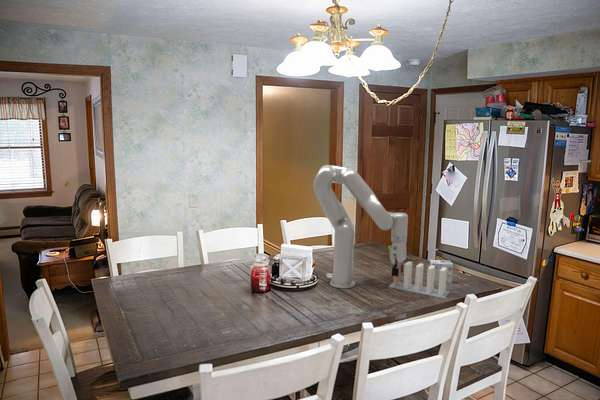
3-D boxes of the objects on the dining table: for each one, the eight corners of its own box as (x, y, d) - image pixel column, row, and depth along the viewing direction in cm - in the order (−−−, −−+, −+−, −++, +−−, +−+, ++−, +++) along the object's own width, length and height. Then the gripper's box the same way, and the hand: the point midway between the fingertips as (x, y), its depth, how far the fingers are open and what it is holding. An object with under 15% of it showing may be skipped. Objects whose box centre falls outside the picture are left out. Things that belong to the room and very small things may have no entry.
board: (387, 288, 219) (387, 286, 219) (394, 282, 227) (394, 281, 227) (444, 300, 205) (444, 298, 205) (449, 293, 214) (449, 291, 214)
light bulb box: (449, 280, 233) (450, 260, 232) (452, 284, 227) (453, 264, 225) (428, 279, 234) (429, 259, 233) (430, 283, 228) (432, 262, 226)
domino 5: (437, 295, 208) (439, 270, 207) (441, 291, 214) (442, 267, 212) (442, 296, 207) (444, 271, 206) (445, 292, 213) (447, 267, 211)
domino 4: (426, 292, 211) (427, 268, 209) (429, 289, 216) (431, 265, 214) (430, 293, 210) (432, 268, 208) (433, 289, 215) (435, 265, 213)
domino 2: (403, 288, 217) (404, 264, 215) (407, 284, 222) (408, 261, 220) (407, 289, 216) (408, 264, 214) (411, 285, 221) (412, 261, 219)
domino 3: (414, 290, 214) (416, 266, 212) (418, 286, 219) (419, 263, 217) (418, 291, 213) (420, 266, 211) (422, 287, 218) (423, 263, 216)
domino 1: (392, 283, 219) (394, 259, 217) (396, 279, 224) (398, 256, 222) (396, 283, 218) (398, 259, 216) (400, 280, 223) (402, 257, 221)
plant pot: (406, 261, 266) (406, 246, 265) (400, 264, 258) (401, 250, 257) (390, 258, 271) (391, 244, 270) (385, 262, 263) (385, 247, 262)
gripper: (400, 242, 209) (399, 280, 211) (411, 235, 223) (410, 270, 226) (385, 240, 212) (383, 277, 215) (397, 233, 227) (395, 268, 230)
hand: (397, 273), depth 221 cm, fingers closed on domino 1, 5 cm apart
